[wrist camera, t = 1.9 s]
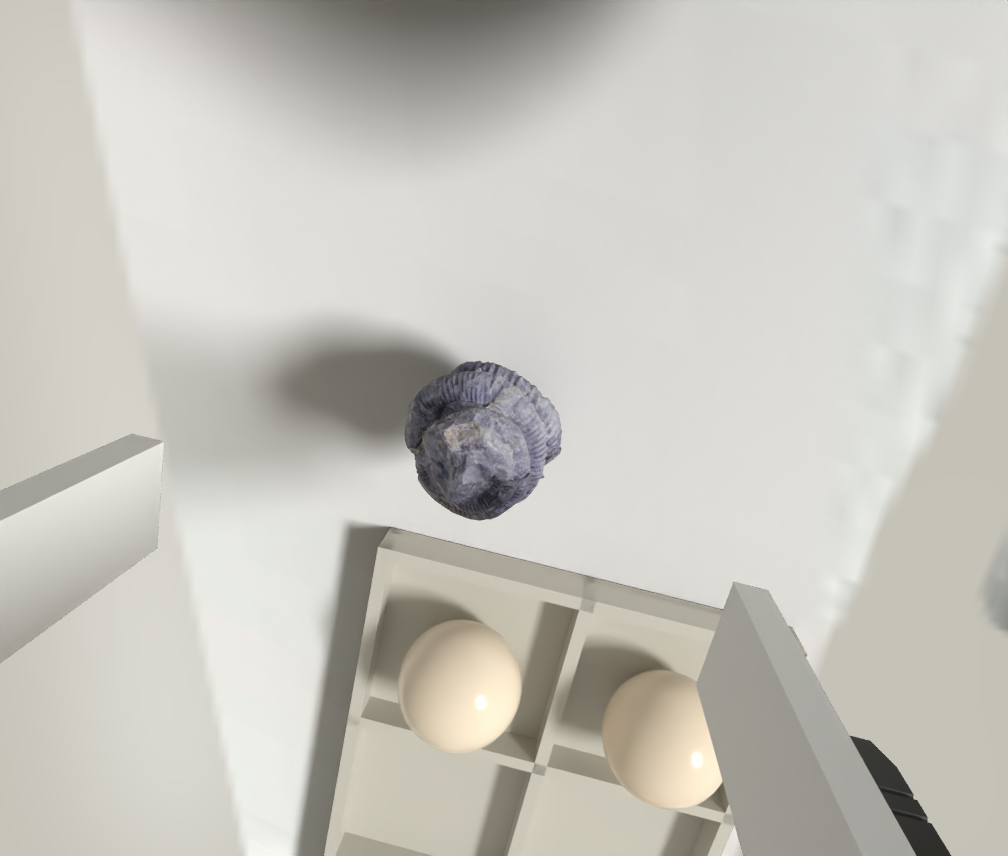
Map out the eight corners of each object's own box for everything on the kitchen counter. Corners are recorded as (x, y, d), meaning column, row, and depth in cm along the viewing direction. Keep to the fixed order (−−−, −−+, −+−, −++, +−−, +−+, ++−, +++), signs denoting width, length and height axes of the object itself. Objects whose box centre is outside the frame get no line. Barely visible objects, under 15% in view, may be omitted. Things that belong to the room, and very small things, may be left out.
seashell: (436, 451, 29) (366, 556, 19) (451, 331, 27) (382, 381, 17) (555, 472, 28) (544, 590, 19) (577, 352, 27) (577, 414, 17)
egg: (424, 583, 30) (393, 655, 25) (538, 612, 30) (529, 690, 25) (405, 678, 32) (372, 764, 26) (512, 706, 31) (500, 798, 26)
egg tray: (390, 527, 30) (377, 546, 28) (792, 627, 29) (807, 654, 27) (315, 943, 38) (302, 980, 36) (626, 1029, 37) (628, 1072, 36)
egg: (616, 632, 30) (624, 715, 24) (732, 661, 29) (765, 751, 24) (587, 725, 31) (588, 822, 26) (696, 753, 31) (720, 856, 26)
